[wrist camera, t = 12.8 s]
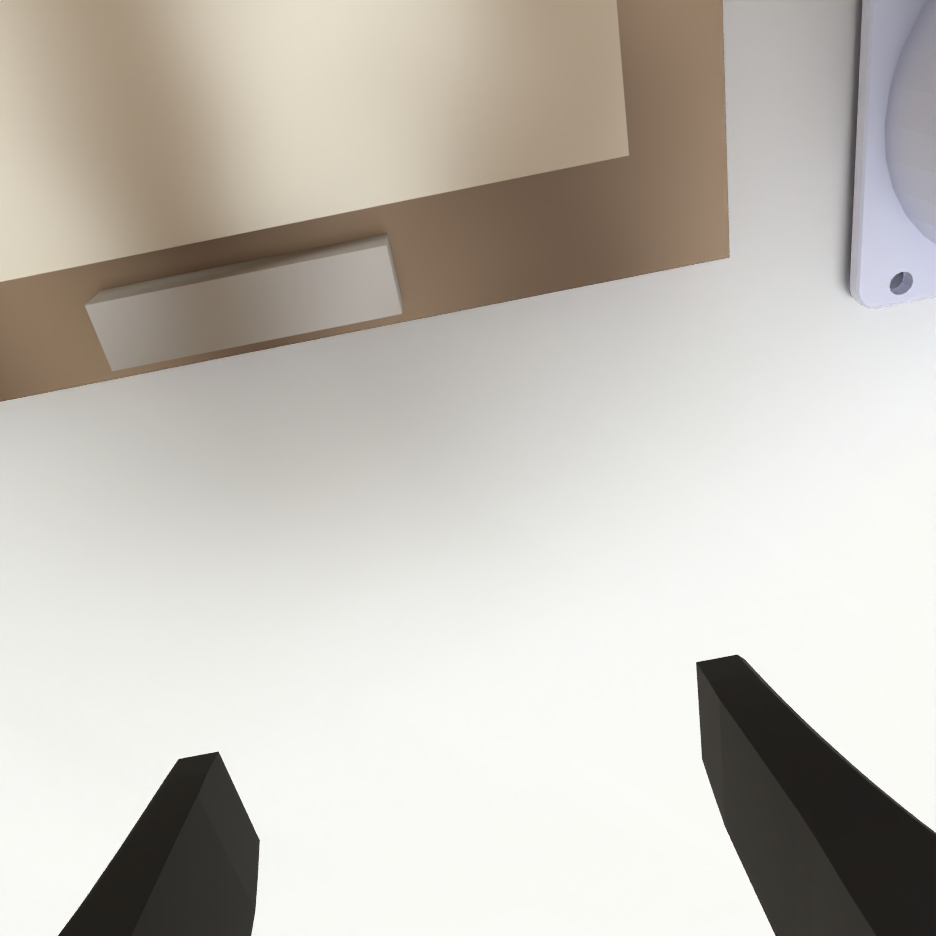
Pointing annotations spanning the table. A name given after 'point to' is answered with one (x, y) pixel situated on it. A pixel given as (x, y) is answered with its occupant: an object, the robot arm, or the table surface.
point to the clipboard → (336, 167)
